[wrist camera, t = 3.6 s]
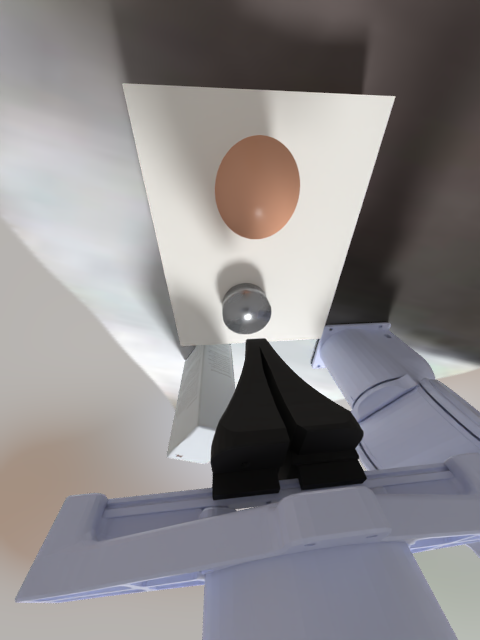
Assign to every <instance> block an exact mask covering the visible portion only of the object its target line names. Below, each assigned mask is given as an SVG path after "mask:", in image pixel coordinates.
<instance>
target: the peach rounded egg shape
mask: <svg viewBox="0 0 480 640" xmlns="http://www.w3.org/2000/svg"><path fill="white" fill-rule="evenodd" d="M299 194H300V176H299V171H298V167H297V164H296V161H295V159H294V157H293V155H292V154H291V152H290V151H289V149H288V148H287V147H286V146H285V145H284V144H282V143H281V142H280V141H278V140H277V139H275V138H272V137H269V136H265V135H254V136H250V137H247V138H244V139H242V140H241V141H239V142H237V143H236V144H235V145H234V146H233V147H231V149H230V150H229V151H228V152H227V153H226V155H225V156H224V158H223V160H222V162H221V164H220V166H219V169H218V172H217V176H216V181H215V199H216V204H217V208H218V211H219V213H220V215H221V217H222V219H223V221H224V222H225V224H226V225H227V226H228V227H229V228H230V229H231V230H232V231H233V232H235V233H236V234H238V235H239V236H241V237H244V238H248V239H263V238H267V237H269V236H272V235H273V234H275V233H277V232H278V231H280V230H281V229H282V228H283V227H284V226H285V225H286V224H287V222H288V221H289V220H290V218H291V217H292V215H293V213H294V211H295V208H296V206H297V203H298V199H299Z"/></svg>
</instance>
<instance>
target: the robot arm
mask: <svg viewBox="0 0 480 640" xmlns="http://www.w3.org/2000/svg"><path fill="white" fill-rule="evenodd" d="M390 326H391V324H390V323H388V322H383V323H362V324H342V325H326V326H325V327H324V330H323V333H322V336H321V339H319V342H318V345H317V349H316V352H315V355H314V359H313V362H312V368H314V369H315V368H327V370H328V371H329V373H330V375H331V376H332V378H333V379H334V381H335V383H336V384H337V386H338V388H339V389H340V391H341V392H342V394H343V396H344V397H345V399H346V401H347V402H348V404H349V405H350V407H351V409H352V410H351V411H349V410H347V409H345V408H343V407H342V406H340V405H338V404H336V403H335V402H333V401H331V400H330V399H328V398H327V397H325V396H324V395H322V394H321V393H319V392H318V391H317V390H315V389H314V388H313V387H311V386H310V385H309V384H307V383H306V382H305V381H304V380H302V379H301V378H300V377H299V376H298V375H297V374H296V373H295V372H294V371H293V370H292V369H291V368H290V367H289V366H288V365H287V364H286V363H285V362H284V361H283V360H282V359H281V358H280V356H279V355H278V354H277V353H276V352H275V350H274V349H273V348H272V346H271V345H270V344H269V342H268V341H267V339H265V338H259V339H247V340H246V351H245V362H244V366H243V370H242V373H241V376H240V379H239V382H238V384H237V387H236V389H235V392H234V394H233V396H232V398H231V400H230V402H229V404H228V406H227V408H226V410H225V412H224V413H223V415H222V417H221V418H220V420H219V422H218V425H217V428H216V431H215V434H214V437H213V441H212V445H211V467H212V472H213V484H212V488H205V489H196V490H187V491H178V492H168V493H160V494H150V495H141V496H133V497H123V498H113V499H107V497H106V496H105V495H104V494H101V493H89V494H80V495H70V496H68V497H67V498H66V500H65V501H64V503H63V505H62V507H61V509H60V511H59V513H58V515H57V517H56V519H55V521H54V523H53V525H52V527H51V529H50V531H49V533H48V535H47V537H46V539H45V541H44V543H43V545H42V547H41V549H40V550H39V553H38V555H37V556H36V558H35V560H34V563H33V564H32V566H31V568H30V570H29V572H28V574H27V576H26V578H25V580H24V582H23V584H22V586H21V588H20V590H19V592H18V594H17V596H16V598H15V601H16V602H23V603H62V602H68V601H76V600H83V599H90V598H98V597H105V596H114V595H122V594H130V593H139V592H147V591H155V590H163V589H172V588H181V587H189V586H197V585H205V587H204V612H203V637H202V638H203V639H202V640H458V639H457V637H456V635H455V633H454V631H453V629H452V628H451V626H450V624H449V622H448V620H447V618H446V616H445V614H444V613H443V611H442V609H441V607H440V605H439V603H438V601H437V600H436V598H435V596H434V594H433V592H432V590H431V588H430V586H429V584H428V583H427V581H426V579H425V577H424V575H423V573H422V571H421V569H420V568H419V566H418V564H417V562H416V560H415V558H414V557H413V554H412V553H417V552H422V551H428V550H434V549H440V548H446V547H452V546H458V545H463V544H464V545H466V546H468V547H470V548H471V549H472V550H473V551H474V552H475V553H476V555H477V556H478V557H479V558H480V412H479V411H477V410H476V409H475V408H474V407H473V406H471V405H470V404H469V403H468V402H466V401H465V400H464V399H463V398H461V397H460V396H459V395H457V394H456V393H455V392H453V391H452V390H451V389H450V388H448V387H447V386H446V385H444V384H443V383H441V382H440V381H438V380H435V376H434V373H433V371H432V369H431V367H430V365H429V364H428V363H427V361H426V360H425V359H424V358H423V357H421V356H420V355H419V354H418V353H416V352H415V351H414V350H413V349H411V348H410V347H409V346H408V345H407V344H405V343H404V342H403V341H402V340H400V339H399V338H398V337H397V336H395V335H394V334H393V333H392V332H390V331H389V328H390ZM330 328H331V329H330ZM358 459H360V461H361V462H362V464H363V465H364V467H365V468H366V469H367V471H363V469H362V467H361V465H360V463H359V461H358ZM249 507H254V508H249ZM241 508H249V509H245V510H240V511H236V510H235V509H241Z"/></svg>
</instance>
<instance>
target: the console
mask: <svg viewBox="0 0 480 640" xmlns="http://www.w3.org/2000/svg"><path fill="white" fill-rule="evenodd" d="M122 85H123V90H124V94H125V99H126V103H127V108H128V112H129V117H130V121H131V126H132V130H133V135H134V139H135V144H136V148H137V153H138V157H139V162H140V166H141V171H142V175H143V180H144V184H145V189H146V193H147V197H148V202H149V206H150V211H151V215H152V220H153V224H154V229H155V233H156V238H157V242H158V247H159V251H160V256H161V260H162V265H163V269H164V274H165V278H166V283H167V287H168V292H169V296H170V301H171V305H172V310H173V314H174V319H175V323H176V328H177V332H178V337H179V341H180V346H197V345H215V344H233V343H246V340H247V339H259V338H265V339H267V341H268V342H270V341H288V340H307V339H321V336H322V333H323V330H324V327H325V323H326V320H327V317H328V314H329V310H330V307H331V304H332V301H333V297H334V294H335V291H336V288H337V284H338V281H339V278H340V275H341V271H342V268H343V265H344V262H345V258H346V255H347V252H348V249H349V245H350V242H351V239H352V236H353V233H354V229H355V226H356V223H357V220H358V216H359V213H360V210H361V207H362V203H363V200H364V197H365V194H366V190H367V187H368V184H369V181H370V177H371V174H372V171H373V168H374V164H375V161H376V158H377V155H378V151H379V148H380V145H381V142H382V138H383V135H384V132H385V129H386V125H387V122H388V119H389V116H390V112H391V109H392V106H393V103H394V99H395V96H377V95H356V94H335V93H315V92H294V91H273V90H252V89H231V88H210V87H189V86H169V85H148V84H127V83H122ZM254 135H265V136H269V137H272V138H275V139H277V140H278V141H280V142H281V143H282V144H284V145H285V146H286V147H287V148H288V149H289V151H290V152H291V154H292V155H293V157H294V159H295V161H296V164H297V167H298V171H299V176H300V194H299V199H298V203H297V206H296V208H295V211H294V213H293V215H292V217H291V218H290V220H289V221H288V222H287V224H286V225H285V226H284V227H283V228H282V229H281V230H280V231H278V232H277V233H275V234H273V235H272V236H269V237H267V238H263V239H248V238H244V237H241V236H239V235H238V234H236V233H235V232H233V231H232V230H231V229H230V228H229V227H228V226H227V225H226V224H225V222H224V221H223V219H222V217H221V215H220V213H219V211H218V208H217V204H216V199H215V181H216V176H217V172H218V169H219V166H220V164H221V162H222V160H223V158H224V156H225V155H226V153H227V152H228V151H229V150H230V149H231V147H233V146H234V145H235V144H236V143H237V142H239V141H241V140H242V139H244V138H247V137H250V136H254ZM241 283H251V284H254V285H257V286H258V287H260V288H261V289H262V290H263V291H264V293H265V295H266V297H267V299H268V301H269V304H270V306H271V311H272V313H271V318H270V320H269V322H268V324H267V325H266V326H265V327H264V328H263V329H261V330H260V331H258V332H256V333H252V334H238V333H235V332H233V331H231V330H230V329H229V328H228V327H227V326H226V325H225V323H224V321H223V315H222V301H223V298H224V295H225V294H226V292H227V291H228V290H229V289H230V288H232V287H233V286H235V285H238V284H241Z"/></svg>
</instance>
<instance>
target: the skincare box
mask: <svg viewBox="0 0 480 640" xmlns="http://www.w3.org/2000/svg"><path fill="white" fill-rule="evenodd" d="M234 392H235V382H234V371H233V360H232V349H231V345H229V344H215V345H197V346H196V347H195V349H194V350H193V352H192V353H191V354H190V356H189V357H188V358H187V360H186V361H185V364H184V370H183V374H182V380H181V385H180V390H179V395H178V400H177V406H176V410H175V416H174V421H173V426H172V431H171V436H170V441H169V446H168V452H167V457H168V458H173V459H178V460H184V461H189V462H195V463H202V464H207V463H208V462H209V461H210V460H211V445H212V441H213V437H214V434H215V431H216V428H217V425H218V422H219V420H220V418H221V417H222V415H223V413H224V412H225V410H226V408H227V406H228V404H229V402H230V400H231V398H232V396H233V394H234Z"/></svg>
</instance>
